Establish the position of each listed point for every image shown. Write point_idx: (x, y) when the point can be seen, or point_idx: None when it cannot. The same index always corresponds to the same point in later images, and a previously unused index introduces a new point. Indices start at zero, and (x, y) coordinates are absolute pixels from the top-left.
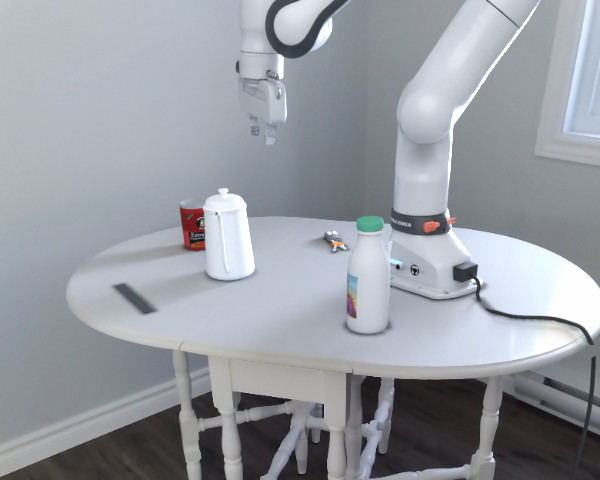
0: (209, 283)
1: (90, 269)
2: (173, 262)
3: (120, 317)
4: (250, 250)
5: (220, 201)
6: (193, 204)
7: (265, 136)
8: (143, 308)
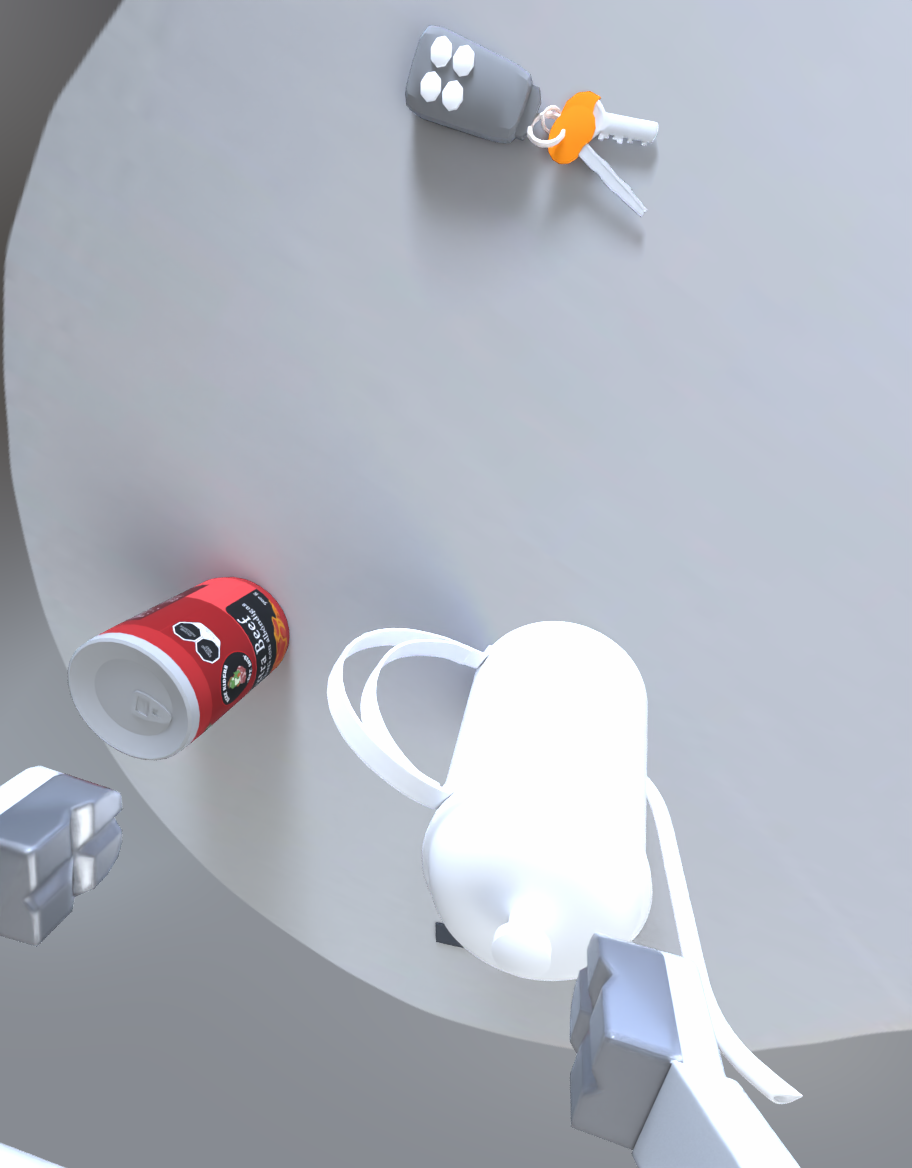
0: None
1: (280, 915)
2: (348, 758)
3: None
4: (627, 696)
5: None
6: (148, 714)
7: (639, 1138)
8: None
